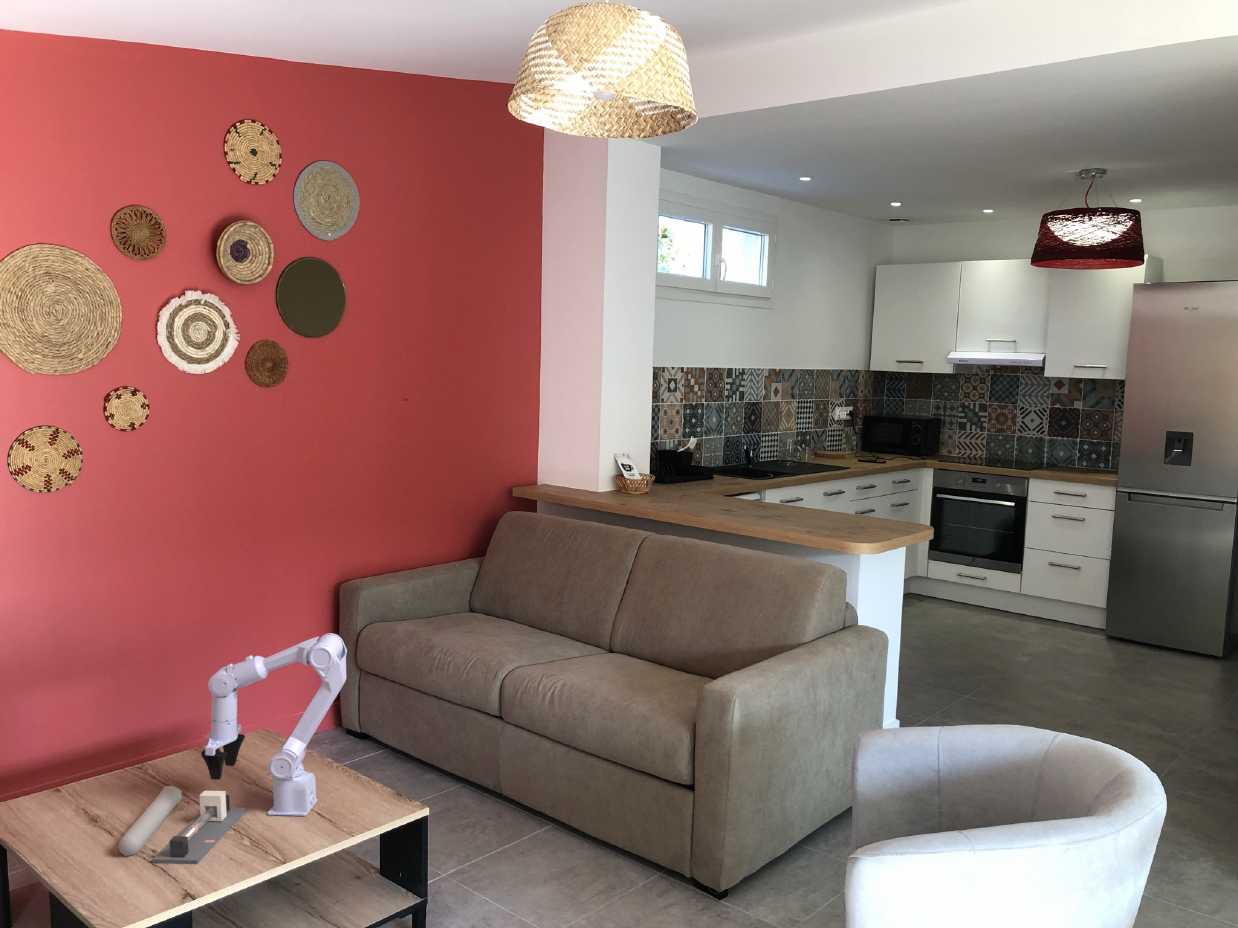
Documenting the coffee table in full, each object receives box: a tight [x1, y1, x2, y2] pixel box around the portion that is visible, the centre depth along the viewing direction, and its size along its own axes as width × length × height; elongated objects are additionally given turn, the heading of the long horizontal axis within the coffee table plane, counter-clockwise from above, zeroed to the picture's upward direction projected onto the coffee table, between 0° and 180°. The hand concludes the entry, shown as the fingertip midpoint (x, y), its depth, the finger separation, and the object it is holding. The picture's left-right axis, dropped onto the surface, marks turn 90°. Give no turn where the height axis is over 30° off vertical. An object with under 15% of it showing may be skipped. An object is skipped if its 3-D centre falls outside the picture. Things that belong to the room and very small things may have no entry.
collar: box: [199, 790, 227, 821], centre depth 228 cm, size 5×2×6 cm, turn 87°
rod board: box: [152, 794, 247, 865], centre depth 222 cm, size 10×24×5 cm, turn 177°
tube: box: [118, 785, 183, 857], centre depth 225 cm, size 5×5×25 cm
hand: (223, 771), depth 234 cm, fingers open, 7 cm apart
